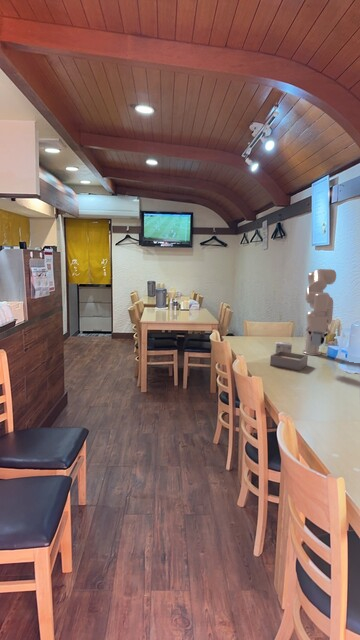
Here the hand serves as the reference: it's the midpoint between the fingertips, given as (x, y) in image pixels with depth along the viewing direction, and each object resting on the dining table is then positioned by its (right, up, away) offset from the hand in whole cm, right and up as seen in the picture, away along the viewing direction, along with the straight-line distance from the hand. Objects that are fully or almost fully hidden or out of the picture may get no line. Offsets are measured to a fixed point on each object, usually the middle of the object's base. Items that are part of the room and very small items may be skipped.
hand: (317, 342), depth 230 cm
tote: (-15, -15, +10) cm, 24 cm away
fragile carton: (0, -1, 0) cm, 1 cm away
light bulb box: (-14, -13, +29) cm, 35 cm away
